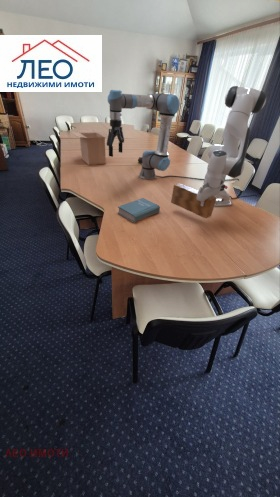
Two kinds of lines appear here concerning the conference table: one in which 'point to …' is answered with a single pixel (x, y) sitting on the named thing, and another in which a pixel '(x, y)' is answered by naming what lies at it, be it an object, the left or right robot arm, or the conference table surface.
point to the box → (92, 146)
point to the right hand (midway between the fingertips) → (205, 204)
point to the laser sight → (140, 160)
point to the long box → (192, 200)
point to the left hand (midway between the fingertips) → (115, 154)
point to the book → (138, 209)
